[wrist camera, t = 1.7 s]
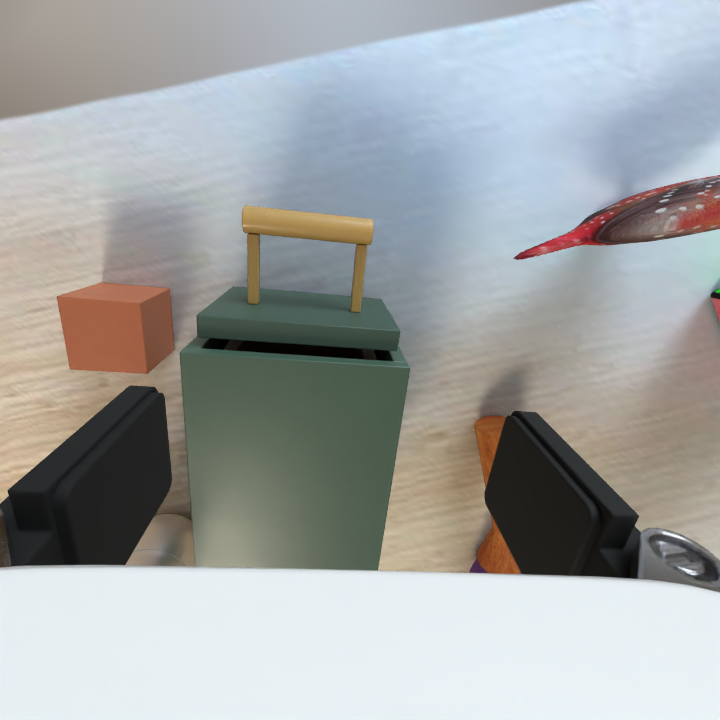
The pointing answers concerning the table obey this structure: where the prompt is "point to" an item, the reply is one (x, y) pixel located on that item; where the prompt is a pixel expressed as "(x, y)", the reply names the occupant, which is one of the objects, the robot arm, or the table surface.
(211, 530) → the cabinet
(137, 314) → the block
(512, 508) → the robot arm
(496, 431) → the kendama
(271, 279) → the table surface
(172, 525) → the silver metal bottle
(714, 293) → the puzzle cube
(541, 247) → the decorative bird figurine
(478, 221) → the table surface
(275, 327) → the drawer
